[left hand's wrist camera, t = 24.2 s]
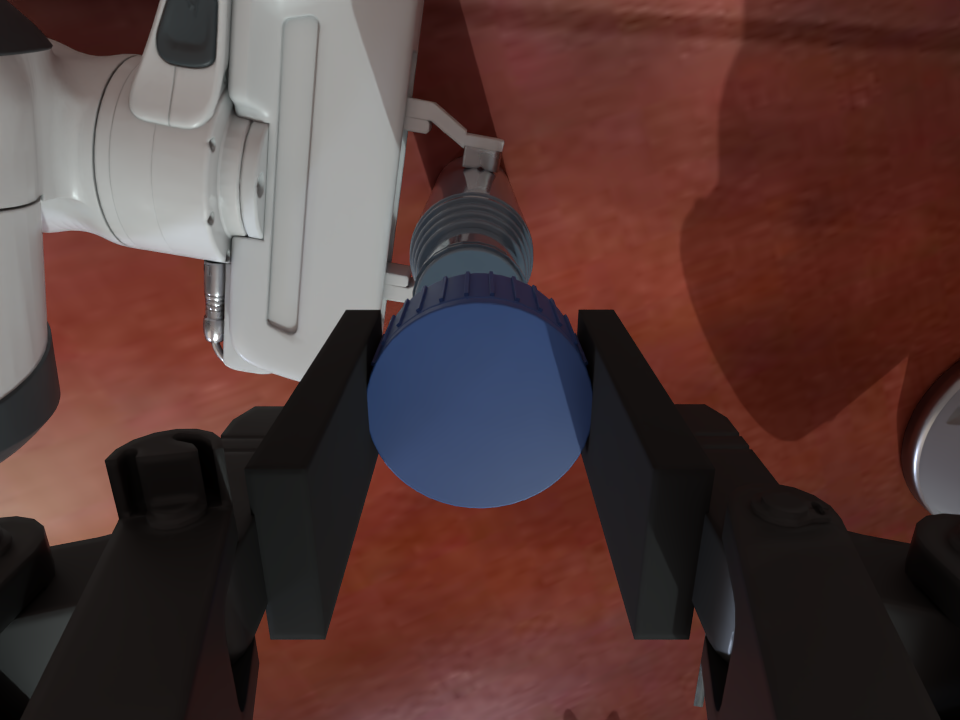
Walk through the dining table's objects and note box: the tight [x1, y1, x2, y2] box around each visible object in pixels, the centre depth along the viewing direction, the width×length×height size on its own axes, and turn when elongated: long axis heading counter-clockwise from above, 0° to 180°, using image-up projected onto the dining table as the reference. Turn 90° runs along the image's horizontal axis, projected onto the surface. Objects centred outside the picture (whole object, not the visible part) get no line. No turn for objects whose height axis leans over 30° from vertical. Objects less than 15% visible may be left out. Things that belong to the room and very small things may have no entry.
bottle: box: [410, 156, 533, 296], centre depth 28 cm, size 4×4×22 cm
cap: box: [367, 271, 593, 508], centre depth 13 cm, size 4×4×2 cm
